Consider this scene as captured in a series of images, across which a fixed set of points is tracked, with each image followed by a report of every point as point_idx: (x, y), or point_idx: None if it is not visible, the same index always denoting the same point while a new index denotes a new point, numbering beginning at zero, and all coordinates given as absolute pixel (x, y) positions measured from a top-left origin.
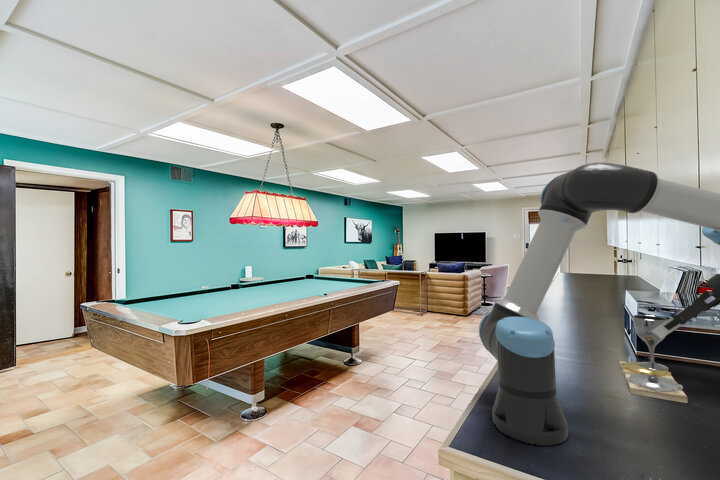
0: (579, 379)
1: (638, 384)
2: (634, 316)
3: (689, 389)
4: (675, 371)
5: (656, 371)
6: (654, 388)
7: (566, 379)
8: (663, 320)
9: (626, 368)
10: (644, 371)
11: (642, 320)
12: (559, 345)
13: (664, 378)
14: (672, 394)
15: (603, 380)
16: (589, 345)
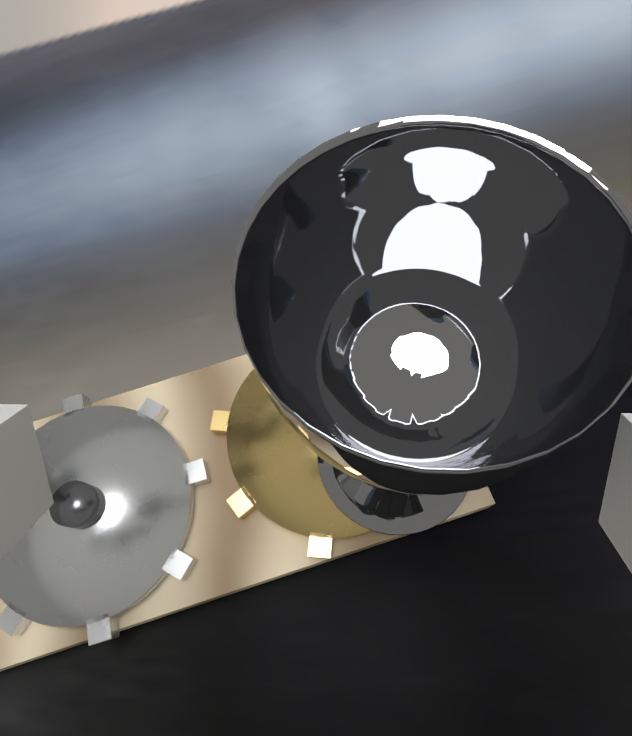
0: (58, 258)
1: None
2: (457, 130)
3: (235, 658)
4: (552, 554)
5: (292, 489)
6: None
7: (27, 228)
8: (335, 444)
9: None
10: (241, 441)
11: (247, 245)
12: (540, 42)
13: (176, 545)
14: None
15: (106, 325)
16: None
